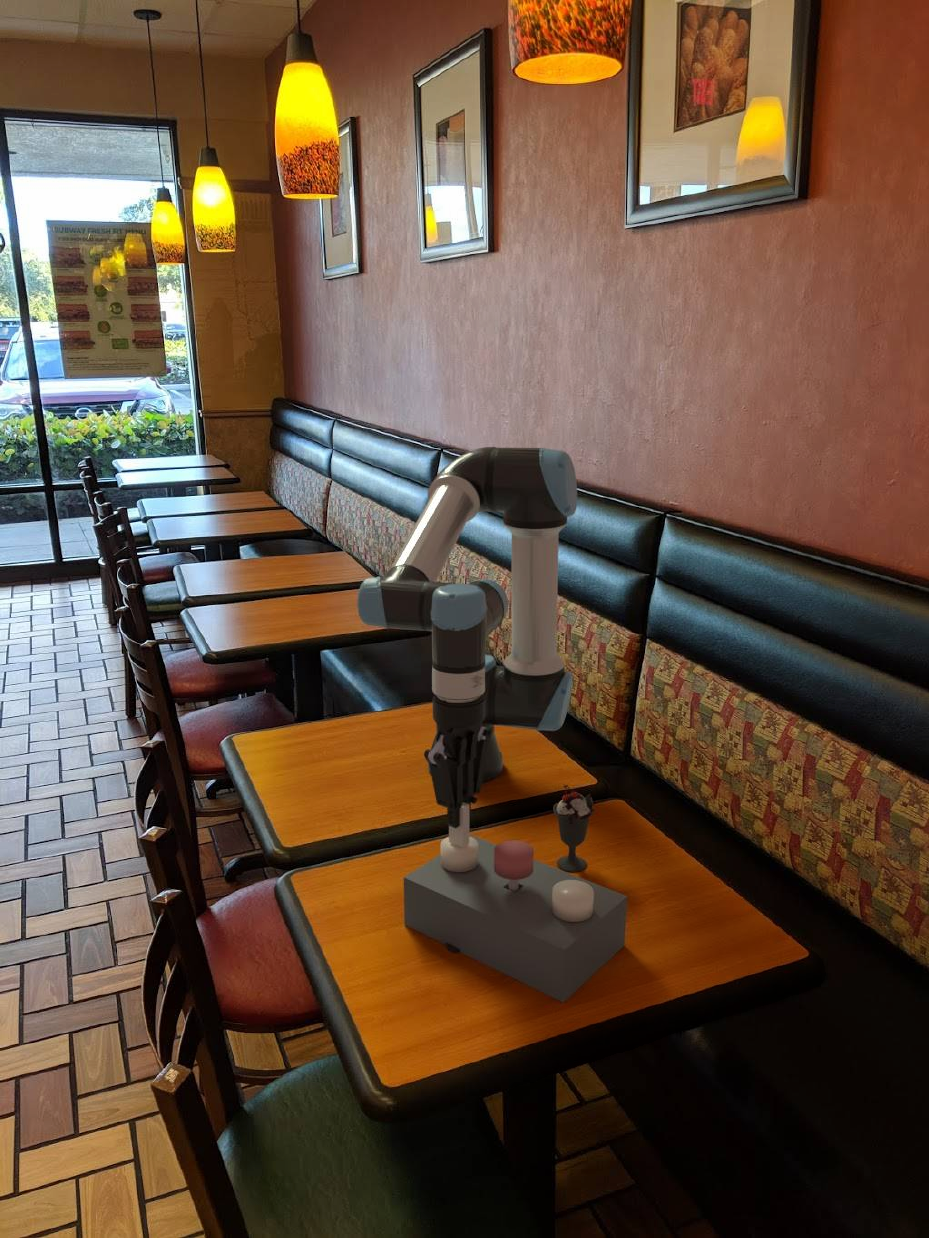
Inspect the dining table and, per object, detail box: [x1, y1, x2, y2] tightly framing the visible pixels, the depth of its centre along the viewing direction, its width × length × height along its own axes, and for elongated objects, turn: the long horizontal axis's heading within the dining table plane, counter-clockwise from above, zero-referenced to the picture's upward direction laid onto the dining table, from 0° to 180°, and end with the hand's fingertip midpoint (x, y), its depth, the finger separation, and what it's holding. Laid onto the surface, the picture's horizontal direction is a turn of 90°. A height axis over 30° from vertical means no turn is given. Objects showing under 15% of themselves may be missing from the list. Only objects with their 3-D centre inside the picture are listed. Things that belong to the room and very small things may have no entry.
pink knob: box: [494, 840, 535, 892], centre depth 139 cm, size 6×6×8 cm
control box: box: [403, 834, 628, 1003], centre depth 140 cm, size 16×28×8 cm, turn 51°
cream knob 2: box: [552, 880, 594, 922], centre depth 133 cm, size 6×6×8 cm
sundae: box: [552, 784, 595, 873], centre depth 158 cm, size 7×7×15 cm
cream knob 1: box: [440, 835, 478, 872], centre depth 145 cm, size 6×6×8 cm
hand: (459, 842), depth 144 cm, fingers closed
